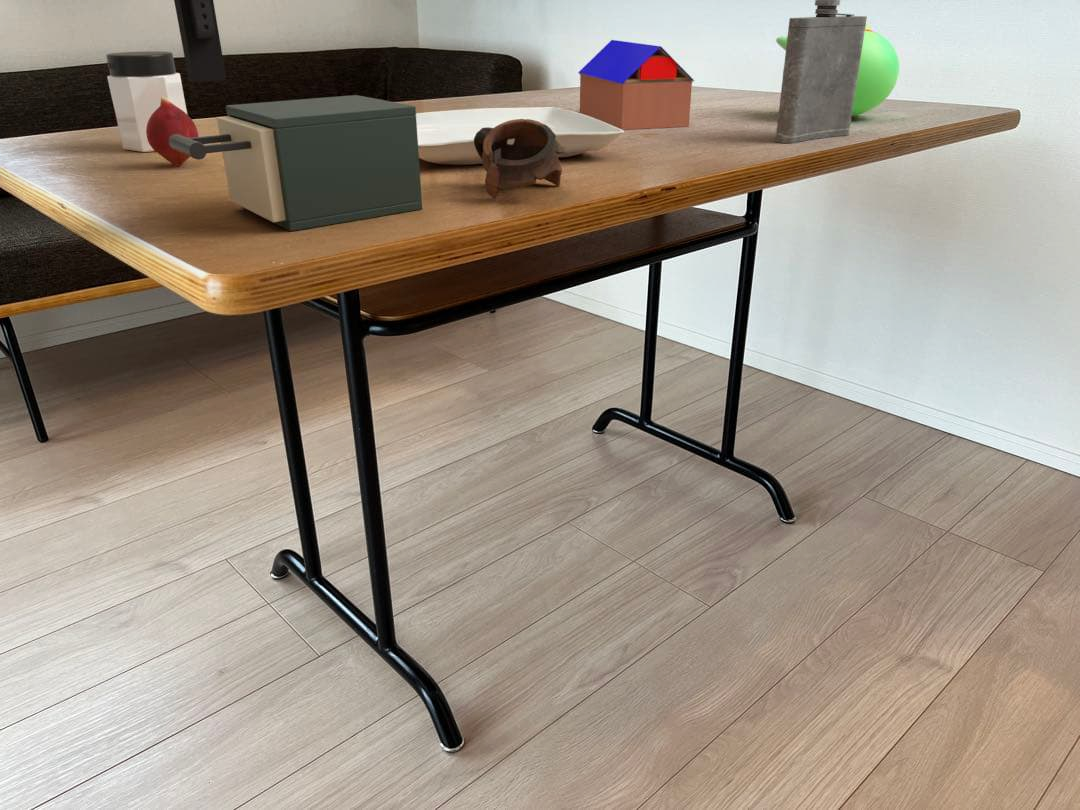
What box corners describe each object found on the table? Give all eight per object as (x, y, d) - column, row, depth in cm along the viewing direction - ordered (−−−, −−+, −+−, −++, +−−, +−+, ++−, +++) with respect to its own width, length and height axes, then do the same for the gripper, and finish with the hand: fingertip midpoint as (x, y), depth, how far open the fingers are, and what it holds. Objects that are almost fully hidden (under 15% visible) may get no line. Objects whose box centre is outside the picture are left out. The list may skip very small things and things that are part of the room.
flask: (766, 140, 118) (782, -1, 110) (832, 131, 125) (851, -2, 117) (786, 143, 115) (804, -1, 107) (853, 134, 122) (874, -2, 114)
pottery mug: (586, 192, 90) (581, 129, 83) (530, 244, 87) (520, 184, 80) (504, 151, 95) (493, 89, 88) (448, 200, 92) (432, 139, 85)
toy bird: (797, 125, 131) (810, 22, 124) (763, 111, 146) (773, 19, 139) (907, 123, 132) (926, 21, 126) (862, 109, 147) (877, 18, 141)
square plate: (554, 129, 128) (554, 103, 126) (626, 160, 104) (628, 127, 103) (377, 139, 120) (375, 111, 118) (413, 174, 97) (411, 140, 95)
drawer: (213, 232, 70) (195, 136, 67) (174, 208, 78) (157, 122, 75) (398, 202, 80) (391, 117, 77) (347, 184, 88) (339, 106, 84)
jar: (145, 141, 119) (126, 51, 114) (200, 141, 119) (184, 51, 114) (113, 152, 111) (91, 55, 106) (172, 152, 111) (153, 55, 106)
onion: (210, 161, 105) (198, 94, 102) (192, 170, 100) (179, 100, 96) (165, 161, 105) (151, 94, 102) (145, 170, 100) (130, 100, 97)
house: (641, 110, 147) (644, 39, 142) (691, 126, 130) (697, 45, 125) (577, 113, 144) (578, 40, 139) (620, 130, 127) (623, 47, 122)
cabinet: (290, 231, 74) (274, 118, 70) (242, 207, 83) (225, 105, 78) (422, 209, 81) (415, 106, 77) (365, 188, 90) (356, 95, 86)
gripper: (228, -278, 58) (279, 83, 68) (173, -240, 67) (225, 73, 78) (113, -298, 54) (186, 89, 64) (71, -254, 63) (141, 78, 74)
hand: (207, 80), depth 71 cm, fingers closed
